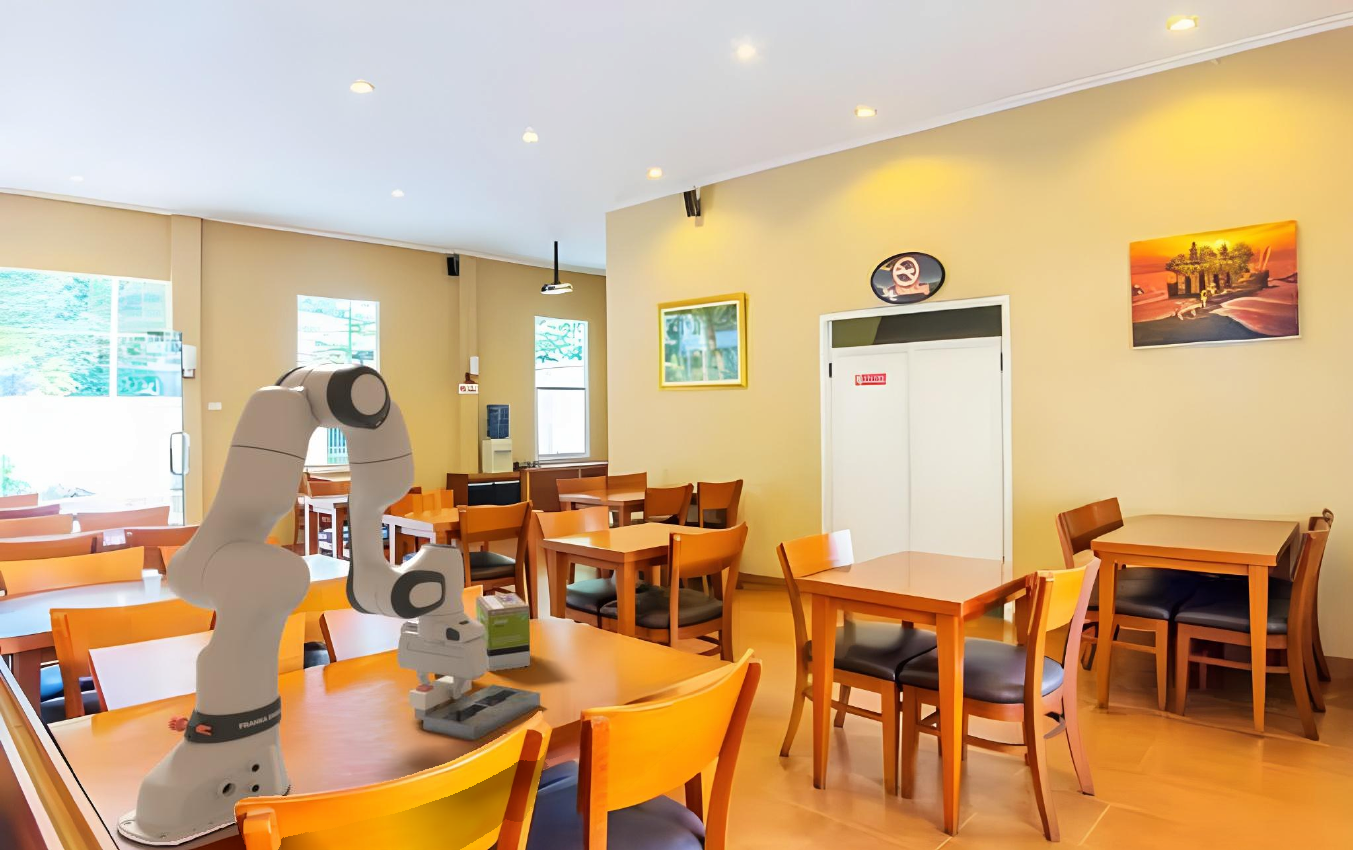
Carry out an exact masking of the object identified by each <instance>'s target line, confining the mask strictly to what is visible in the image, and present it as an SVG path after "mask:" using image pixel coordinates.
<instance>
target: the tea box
mask: <svg viewBox="0 0 1353 850" xmlns="http://www.w3.org/2000/svg"><path fill="white" fill-rule="evenodd" d="M475 601H476V603H475V604H476V621H478V622H480V623H482V624H483V625H484V626H485V634H484V635H482V636H480V637H482V638H483V639H484V641H485V643H486V649H487V670H488V671H492V672H496V671H495V670H500V671H505V669H507V670H513V669H512V668H514V669H519V668H520V667H521V668H526V667H525V666H527V667H530V666H531V646H530V645H531V643H530V642H531V636H530V635H531V633H530V632H531V631H530V630H531V629H530V605H529V604H527V603H526V602H525V600H523V599H522V598H520V596H518V595H517V593H515V592H511V593H503V594H493V595H485V596H483V595H482V596H476V599H475Z"/></svg>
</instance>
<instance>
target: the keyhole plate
mask: <svg viewBox="0 0 1353 850" xmlns="http://www.w3.org/2000/svg"><path fill="white" fill-rule="evenodd" d="M538 705H540V706H541V693H540V692H538V691H537V692H536V691H532V690H531V691H530V690H525V689H519V688H514V687H509V686H503V685H498V684H491V685H489V686H486V687H484V688H483V689H480V690H477V691H476V692H474V693H471V694H469V695H466V697H465V698H462V699H460V700H458V701H456V702H454V703H451V704H449V705H447V706H445V707H443V708H441V709H438V710H436V711H434V712H432V713H430V714H428V715H425V716H423V723H422V724H423V725H422V726H423V731H426V732H427V731H428V732H432V733H437V734H441V735H446V736H451V737H454V738H455V737H456V738H458V739H459V738H460V739H463V740H467V741H473V742H475V741H477V740H479V739H480V737H481V738H482V737H484V736H485V734H486V735H488V734H489V732H490V733H491V731H492V732H494V731H495V730H497V729H499V728H500V727H503V726H505V725H506V724H508V723H510V722H513V721H514V720H515V719H517V717H518V718H519V717H521V716H523V715H526V713H528V712H531V711H533V710H534V709H536V708H538V707H539V706H538ZM537 706H538V707H537ZM535 707H536V708H535ZM513 719H514V720H513ZM509 721H510V722H509ZM502 725H503V726H502ZM498 727H499V728H498ZM487 733H488V734H487ZM478 738H479V739H478ZM476 739H477V740H476Z"/></svg>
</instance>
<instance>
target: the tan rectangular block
mask: <svg viewBox="0 0 1353 850" xmlns="http://www.w3.org/2000/svg"><path fill="white" fill-rule="evenodd" d="M458 700H460V698H458V699H449V700H447V701H445V702H442V703H440V704H438V705H436V706H435V711H436V710H438V709H441V708H443V707H445V706H447V705H449V704H451V703H454V702H456V701H458Z"/></svg>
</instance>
